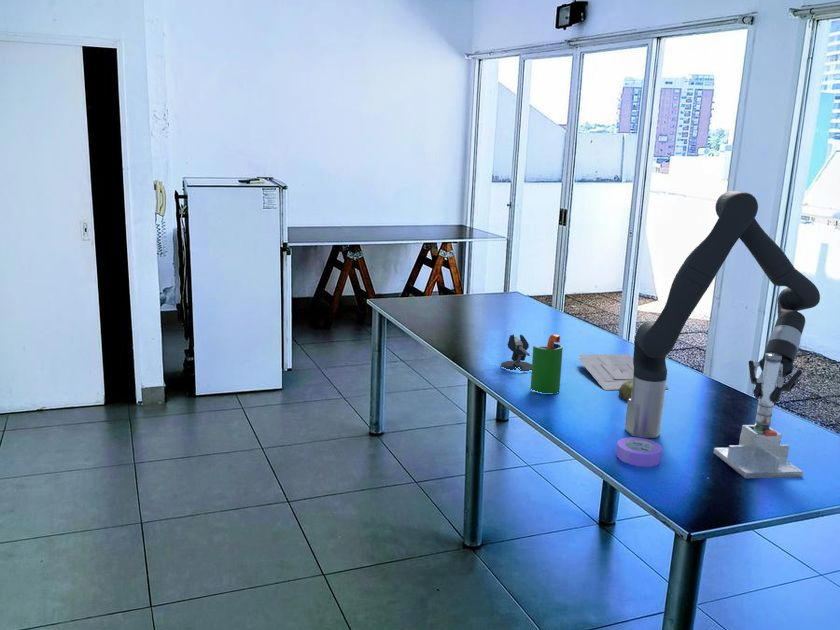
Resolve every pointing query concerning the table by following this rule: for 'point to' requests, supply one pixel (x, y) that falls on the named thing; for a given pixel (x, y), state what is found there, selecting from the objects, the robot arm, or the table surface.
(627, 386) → the weight
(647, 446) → the masking tape
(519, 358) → the gun turret
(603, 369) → the papers
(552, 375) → the green pen holder
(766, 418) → the cylinder
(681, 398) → the table surface
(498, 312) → the table surface
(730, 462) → the jack base
